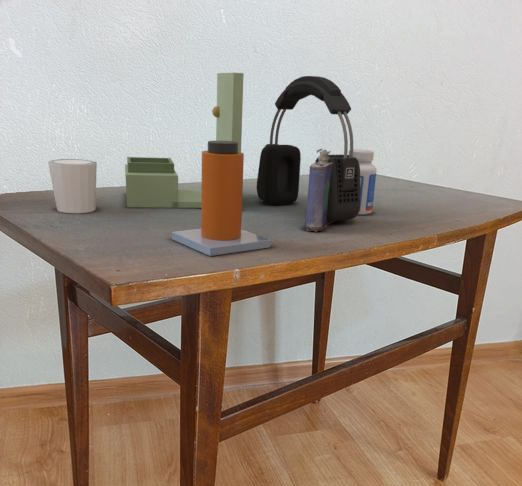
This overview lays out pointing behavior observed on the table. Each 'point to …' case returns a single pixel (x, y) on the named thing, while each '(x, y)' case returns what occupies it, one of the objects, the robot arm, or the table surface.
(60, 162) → the white cup
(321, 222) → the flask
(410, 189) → the table surface
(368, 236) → the table surface
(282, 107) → the headphones
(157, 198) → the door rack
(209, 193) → the amber bottle
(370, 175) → the pill bottle
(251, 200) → the table surface
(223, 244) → the coaster
